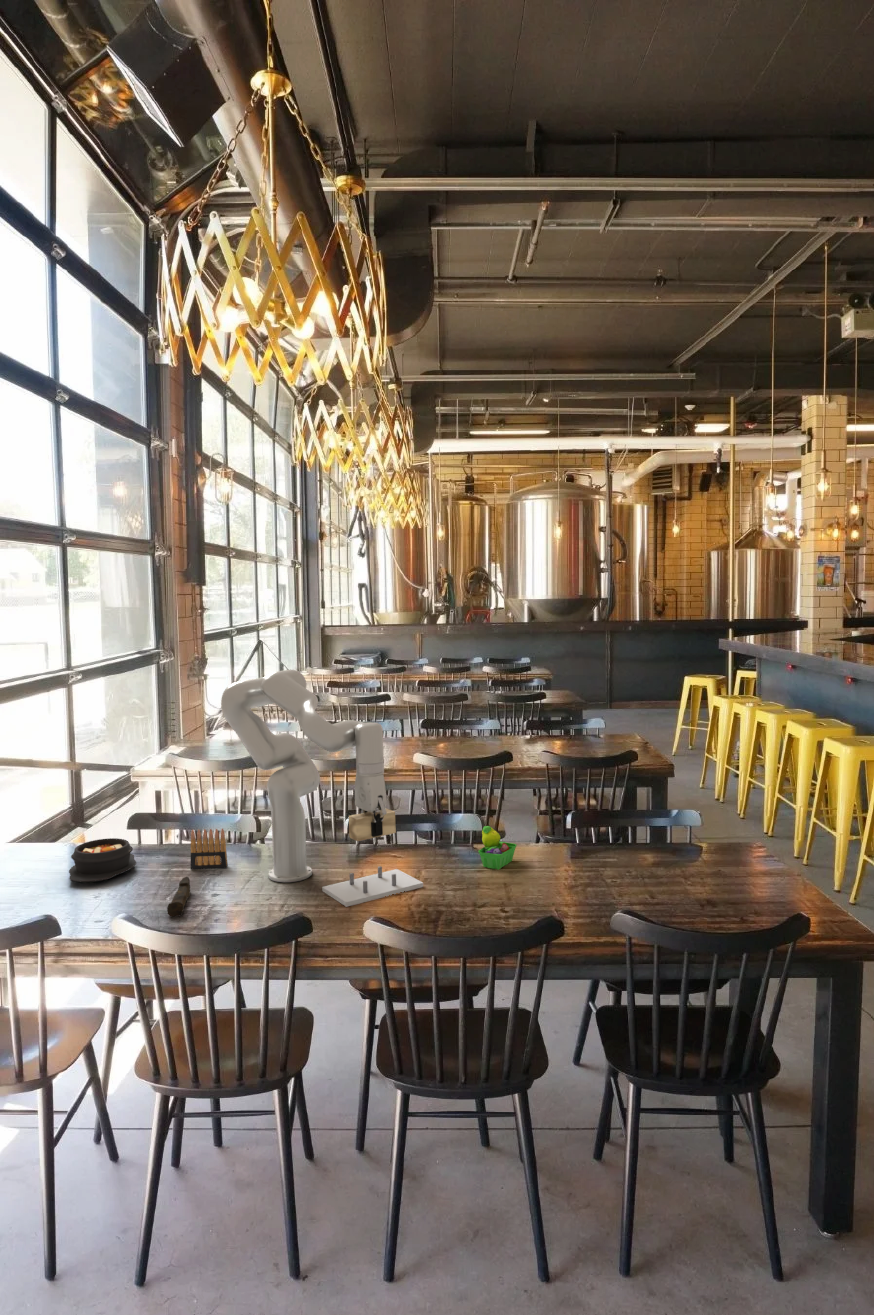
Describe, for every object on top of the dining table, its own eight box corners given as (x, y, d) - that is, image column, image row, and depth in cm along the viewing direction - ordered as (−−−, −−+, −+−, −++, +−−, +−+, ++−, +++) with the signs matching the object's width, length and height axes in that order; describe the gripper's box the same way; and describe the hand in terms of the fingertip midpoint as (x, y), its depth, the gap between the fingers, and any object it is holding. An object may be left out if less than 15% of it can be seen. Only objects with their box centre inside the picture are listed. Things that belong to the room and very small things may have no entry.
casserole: (119, 887, 229) (118, 858, 229) (53, 889, 229) (51, 860, 228) (148, 858, 254) (147, 832, 254) (88, 860, 254) (87, 833, 253)
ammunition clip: (227, 866, 245) (226, 827, 245) (226, 868, 244) (225, 829, 243) (191, 867, 245) (190, 828, 244) (190, 869, 243) (188, 830, 242)
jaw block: (349, 837, 222) (348, 815, 221) (387, 829, 228) (386, 808, 228) (357, 841, 218) (356, 819, 217) (395, 833, 224) (394, 811, 224)
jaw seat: (322, 891, 223) (321, 876, 223) (397, 872, 237) (396, 858, 236) (346, 906, 212) (345, 891, 211) (423, 886, 225) (422, 872, 225)
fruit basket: (500, 872, 236) (499, 834, 235) (473, 867, 241) (473, 829, 240) (517, 860, 246) (517, 824, 245) (492, 856, 250) (491, 820, 249)
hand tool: (183, 917, 208) (182, 899, 207) (167, 917, 207) (166, 900, 207) (198, 890, 226) (197, 874, 226) (183, 891, 226) (182, 874, 226)
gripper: (343, 765, 226) (345, 829, 228) (373, 775, 212) (375, 843, 214) (367, 761, 231) (369, 824, 232) (398, 771, 217) (400, 838, 218)
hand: (372, 833), depth 223 cm, fingers closed on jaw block, 4 cm apart
